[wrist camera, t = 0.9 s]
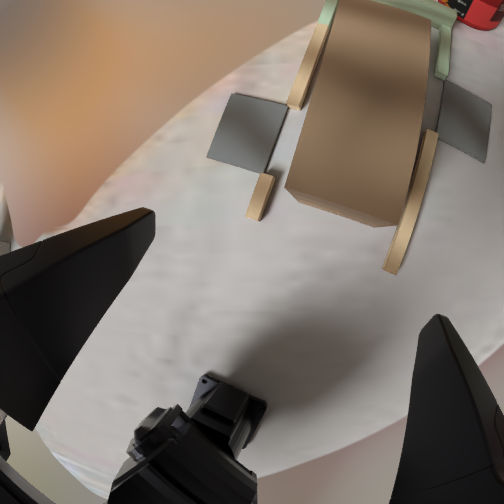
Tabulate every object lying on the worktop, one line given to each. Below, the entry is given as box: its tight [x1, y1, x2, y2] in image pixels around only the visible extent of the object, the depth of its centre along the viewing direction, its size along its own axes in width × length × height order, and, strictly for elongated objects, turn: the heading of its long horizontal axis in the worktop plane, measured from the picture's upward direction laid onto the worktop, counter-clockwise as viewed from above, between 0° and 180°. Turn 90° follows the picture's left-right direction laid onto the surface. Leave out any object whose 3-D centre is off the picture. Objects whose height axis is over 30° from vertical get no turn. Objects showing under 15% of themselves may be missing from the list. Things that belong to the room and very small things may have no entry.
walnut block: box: [284, 0, 431, 227], centre depth 17 cm, size 14×6×8 cm, turn 162°
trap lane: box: [207, 0, 492, 275], centre depth 19 cm, size 25×22×3 cm
